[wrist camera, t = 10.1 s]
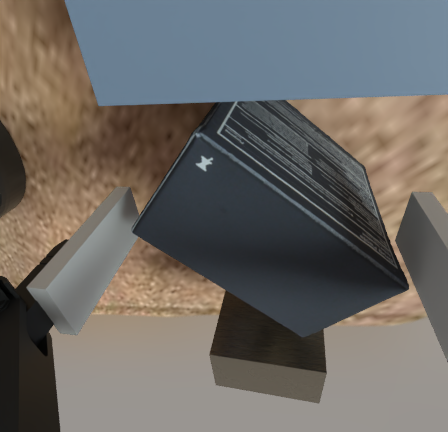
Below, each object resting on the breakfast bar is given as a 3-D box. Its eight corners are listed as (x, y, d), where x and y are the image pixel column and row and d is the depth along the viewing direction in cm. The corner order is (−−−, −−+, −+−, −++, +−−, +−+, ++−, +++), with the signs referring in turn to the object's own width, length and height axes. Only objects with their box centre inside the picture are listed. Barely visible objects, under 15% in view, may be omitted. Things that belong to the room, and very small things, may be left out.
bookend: (238, 278, 28) (215, 384, 21) (236, 247, 26) (209, 354, 18) (313, 285, 27) (319, 403, 19) (317, 254, 25) (326, 373, 17)
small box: (189, 143, 21) (120, 235, 13) (243, 62, 17) (192, 119, 9) (300, 223, 23) (301, 346, 15) (369, 166, 19) (420, 289, 11)
